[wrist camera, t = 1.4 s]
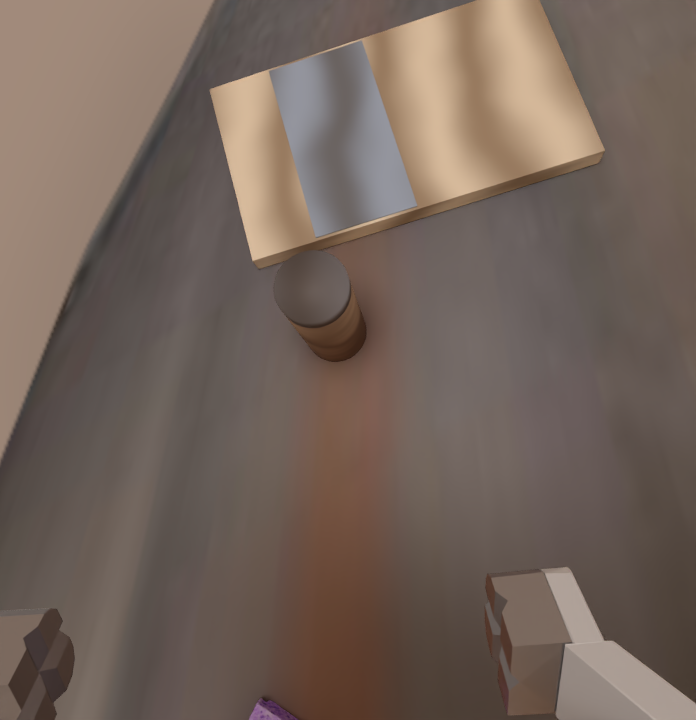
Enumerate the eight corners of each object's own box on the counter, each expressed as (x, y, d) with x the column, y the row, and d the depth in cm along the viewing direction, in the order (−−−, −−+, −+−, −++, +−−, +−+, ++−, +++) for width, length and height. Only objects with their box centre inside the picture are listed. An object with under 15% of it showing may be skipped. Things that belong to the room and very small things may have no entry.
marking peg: (357, 296, 41) (337, 240, 32) (373, 351, 40) (357, 309, 31) (300, 313, 41) (265, 263, 32) (315, 368, 40) (283, 332, 31)
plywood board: (528, -1, 44) (531, -19, 43) (598, 163, 41) (605, 149, 39) (216, 102, 46) (209, 88, 44) (258, 269, 42) (252, 260, 41)
